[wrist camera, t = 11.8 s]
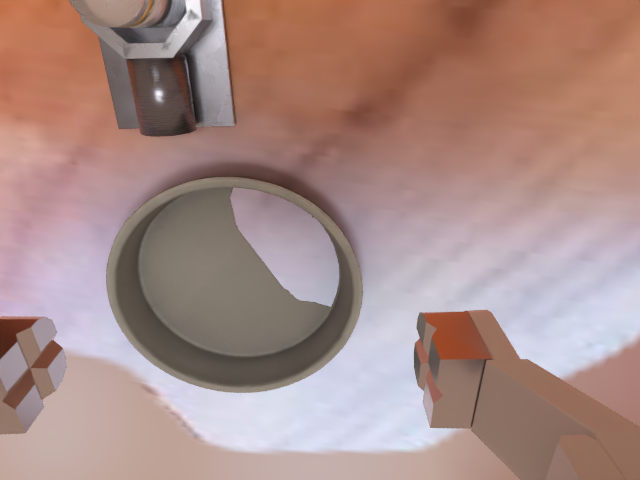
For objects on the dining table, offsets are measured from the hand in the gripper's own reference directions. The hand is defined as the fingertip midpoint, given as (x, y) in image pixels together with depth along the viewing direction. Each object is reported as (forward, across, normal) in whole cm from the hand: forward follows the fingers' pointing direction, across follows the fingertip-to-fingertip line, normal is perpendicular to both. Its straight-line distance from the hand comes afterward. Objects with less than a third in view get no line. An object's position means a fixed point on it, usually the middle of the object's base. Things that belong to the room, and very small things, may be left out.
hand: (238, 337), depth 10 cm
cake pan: (+32, +6, +18) cm, 37 cm away
